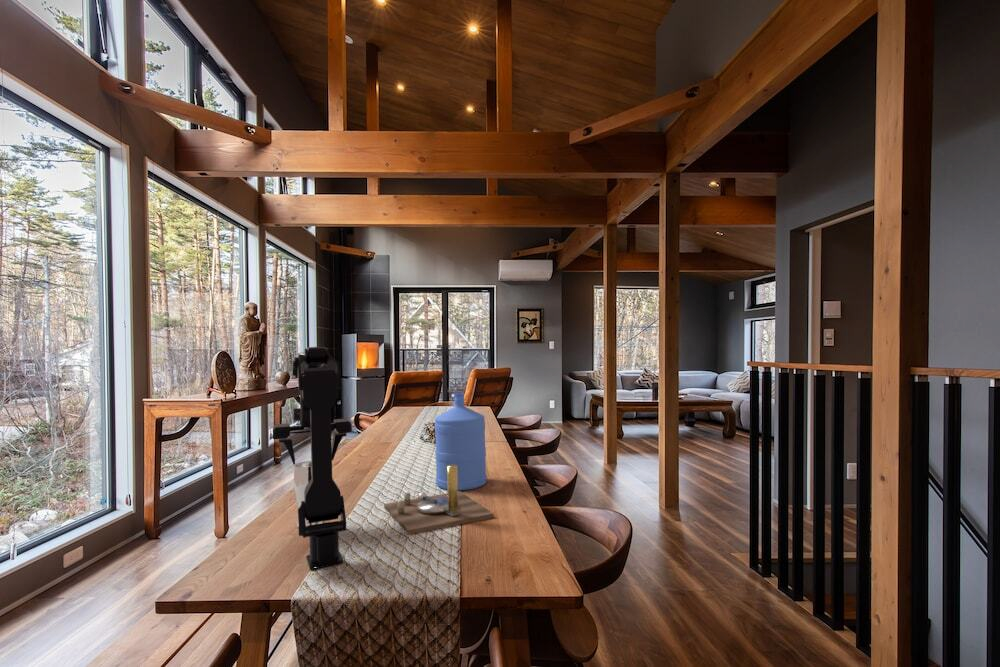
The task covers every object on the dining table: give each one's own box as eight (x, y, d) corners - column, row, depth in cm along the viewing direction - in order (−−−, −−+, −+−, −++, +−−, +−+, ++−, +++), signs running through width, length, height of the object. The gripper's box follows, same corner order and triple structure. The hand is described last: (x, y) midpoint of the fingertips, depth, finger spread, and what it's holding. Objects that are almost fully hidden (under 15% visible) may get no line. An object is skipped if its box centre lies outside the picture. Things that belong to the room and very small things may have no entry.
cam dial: (404, 505, 137) (403, 460, 137) (435, 496, 144) (433, 453, 144) (440, 520, 126) (439, 470, 126) (472, 510, 132) (471, 463, 132)
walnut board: (493, 517, 130) (493, 501, 130) (408, 534, 120) (407, 517, 120) (459, 494, 150) (459, 480, 150) (384, 507, 140) (383, 492, 140)
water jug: (485, 490, 153) (483, 395, 153) (432, 492, 153) (430, 397, 153) (487, 476, 169) (485, 390, 169) (439, 477, 169) (437, 391, 169)
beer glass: (315, 530, 124) (313, 468, 124) (288, 529, 126) (287, 467, 126) (330, 520, 131) (328, 461, 131) (305, 519, 133) (303, 460, 133)
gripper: (345, 394, 144) (347, 450, 144) (272, 399, 136) (273, 458, 137) (351, 400, 133) (352, 460, 134) (272, 405, 126) (273, 469, 126)
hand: (313, 461), depth 133 cm, fingers open, 9 cm apart
